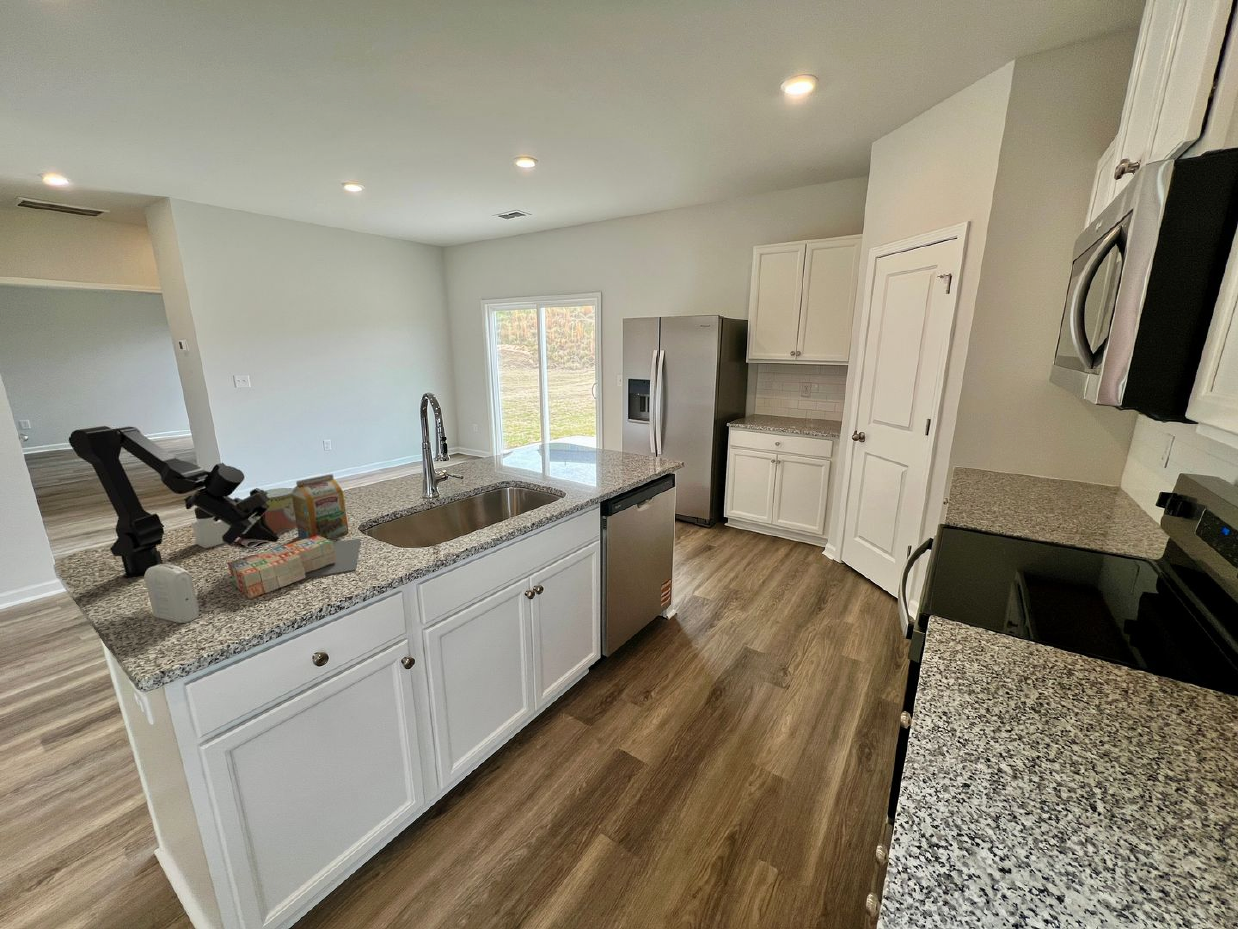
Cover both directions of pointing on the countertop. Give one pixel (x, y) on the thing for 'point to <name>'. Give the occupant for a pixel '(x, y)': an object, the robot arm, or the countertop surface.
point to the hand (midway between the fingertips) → (277, 540)
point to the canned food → (280, 510)
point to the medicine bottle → (208, 529)
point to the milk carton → (319, 508)
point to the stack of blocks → (281, 565)
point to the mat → (339, 559)
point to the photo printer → (171, 593)
